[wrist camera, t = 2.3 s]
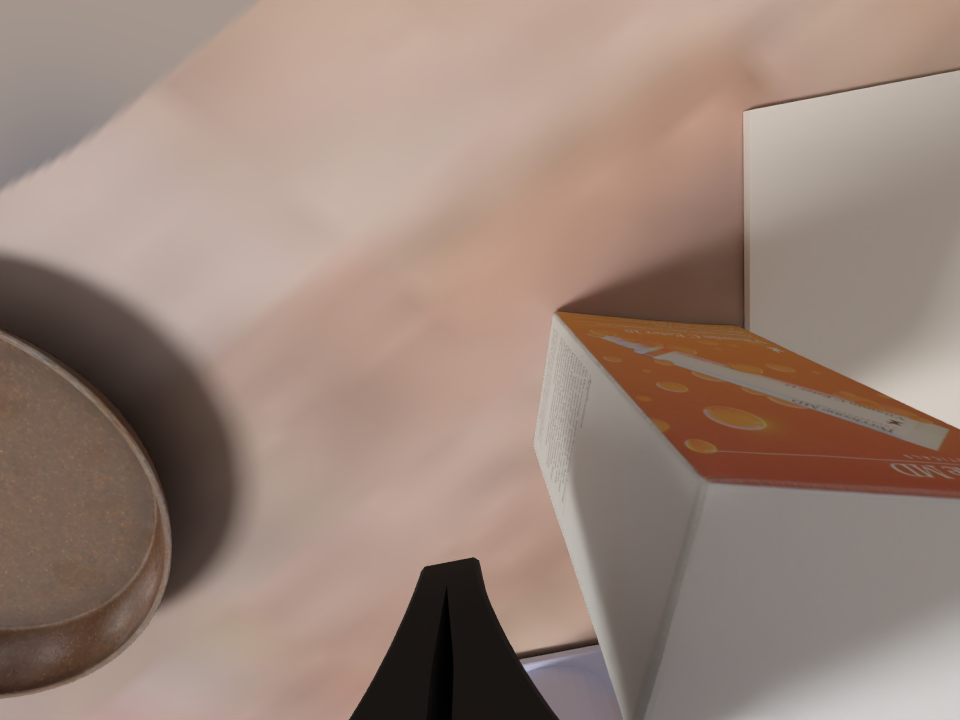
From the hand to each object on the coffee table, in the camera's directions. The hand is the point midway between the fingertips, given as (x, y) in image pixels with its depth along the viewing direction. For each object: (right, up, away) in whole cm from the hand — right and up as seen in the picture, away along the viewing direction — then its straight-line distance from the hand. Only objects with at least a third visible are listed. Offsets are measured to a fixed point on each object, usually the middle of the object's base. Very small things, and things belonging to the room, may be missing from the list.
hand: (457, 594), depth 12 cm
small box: (+7, +5, +10) cm, 13 cm away
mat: (+18, +7, +9) cm, 22 cm away
